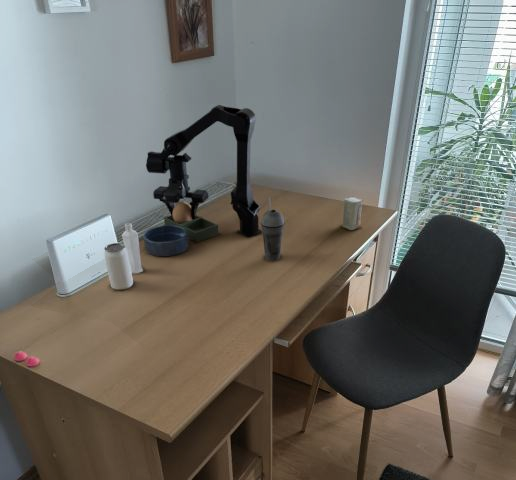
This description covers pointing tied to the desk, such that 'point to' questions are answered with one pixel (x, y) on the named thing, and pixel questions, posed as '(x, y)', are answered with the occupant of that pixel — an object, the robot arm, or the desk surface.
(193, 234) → the carton
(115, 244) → the can
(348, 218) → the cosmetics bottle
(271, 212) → the beverage cup
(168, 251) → the bowl
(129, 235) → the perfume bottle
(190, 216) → the egg
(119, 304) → the desk surface
